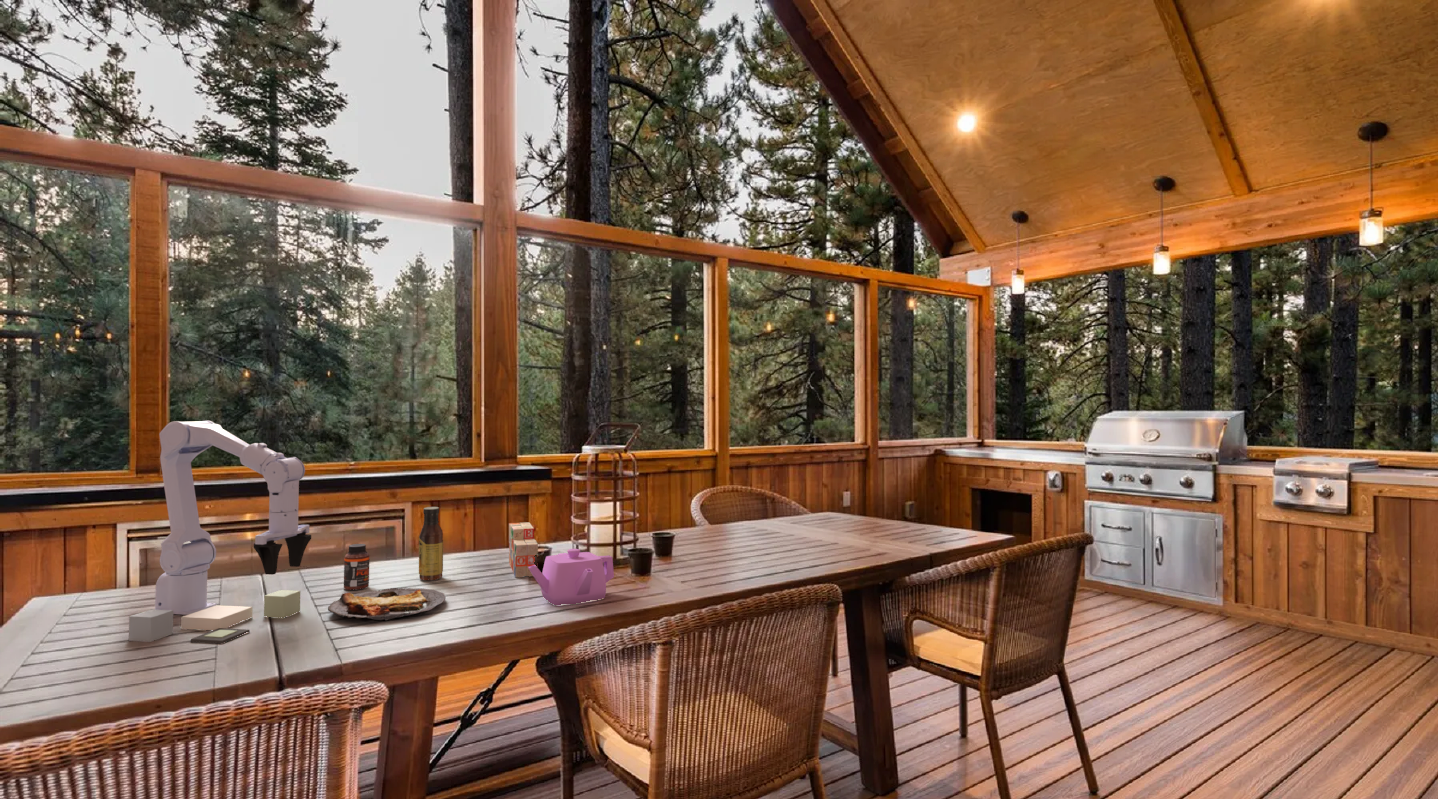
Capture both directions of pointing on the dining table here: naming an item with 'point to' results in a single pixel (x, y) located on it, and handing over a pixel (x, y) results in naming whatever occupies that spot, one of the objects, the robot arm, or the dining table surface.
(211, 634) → the tile
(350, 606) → the food plate
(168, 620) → the grey block
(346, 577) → the supplement bottle
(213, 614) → the base block
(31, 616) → the dining table surface
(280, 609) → the sage block
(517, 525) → the stack of blocks
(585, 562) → the teakettle
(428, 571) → the sauce bottle
